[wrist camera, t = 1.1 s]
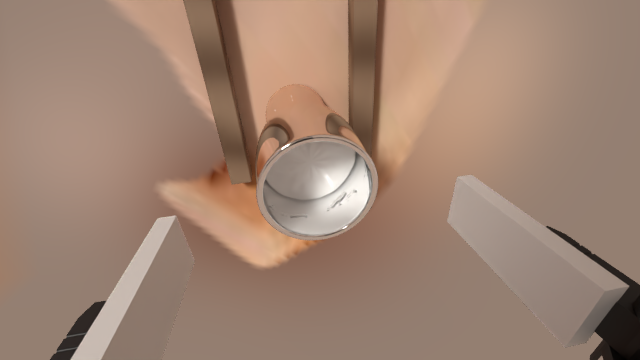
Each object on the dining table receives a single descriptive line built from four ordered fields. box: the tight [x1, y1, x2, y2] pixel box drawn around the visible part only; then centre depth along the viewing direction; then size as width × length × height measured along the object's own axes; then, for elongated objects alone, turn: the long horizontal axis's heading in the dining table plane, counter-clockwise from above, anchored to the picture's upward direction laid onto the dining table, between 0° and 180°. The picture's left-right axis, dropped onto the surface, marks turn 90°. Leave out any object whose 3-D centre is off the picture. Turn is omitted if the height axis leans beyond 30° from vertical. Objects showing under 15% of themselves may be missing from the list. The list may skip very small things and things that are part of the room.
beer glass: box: [255, 84, 378, 240], centre depth 20 cm, size 7×7×15 cm
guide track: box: [183, 0, 378, 184], centre depth 22 cm, size 26×15×3 cm, turn 3°
